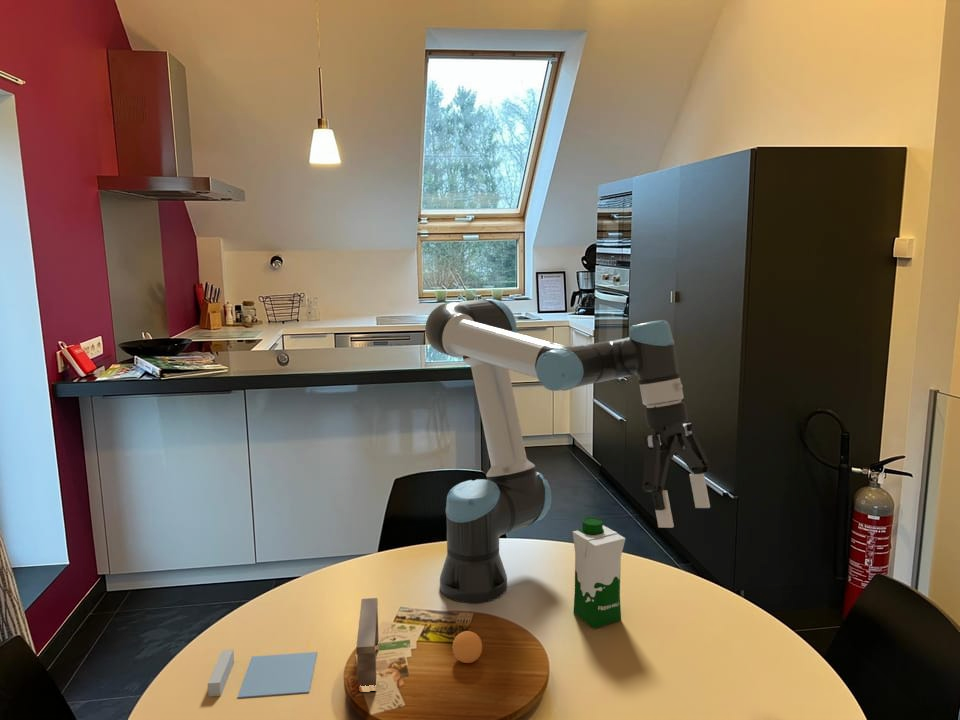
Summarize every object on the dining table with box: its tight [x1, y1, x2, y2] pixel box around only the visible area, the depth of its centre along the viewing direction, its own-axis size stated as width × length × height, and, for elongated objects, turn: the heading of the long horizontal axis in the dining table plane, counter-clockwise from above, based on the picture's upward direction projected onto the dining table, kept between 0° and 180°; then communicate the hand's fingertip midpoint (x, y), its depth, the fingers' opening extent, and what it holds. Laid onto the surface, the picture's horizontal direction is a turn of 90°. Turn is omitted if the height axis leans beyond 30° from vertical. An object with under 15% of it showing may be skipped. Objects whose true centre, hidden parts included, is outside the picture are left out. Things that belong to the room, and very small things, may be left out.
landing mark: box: [237, 651, 318, 699], centre depth 127 cm, size 12×12×1 cm
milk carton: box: [572, 517, 626, 629], centre depth 143 cm, size 9×9×20 cm
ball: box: [452, 630, 483, 664], centre depth 130 cm, size 6×6×6 cm
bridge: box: [355, 597, 380, 686], centre depth 128 cm, size 3×16×9 cm, turn 6°
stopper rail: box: [207, 648, 235, 698], centre depth 125 cm, size 10×2×2 cm, turn 6°
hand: (685, 517), depth 130 cm, fingers open, 13 cm apart
